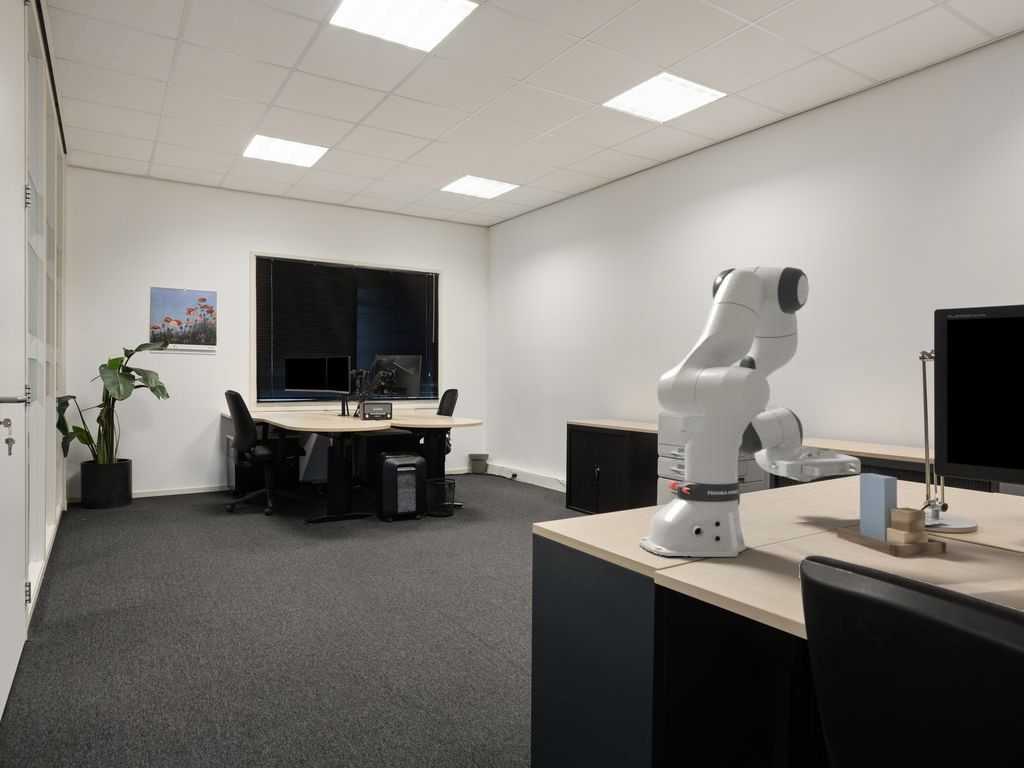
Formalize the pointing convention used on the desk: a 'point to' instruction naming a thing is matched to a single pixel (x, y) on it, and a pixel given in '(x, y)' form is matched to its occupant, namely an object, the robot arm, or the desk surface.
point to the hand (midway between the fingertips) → (839, 471)
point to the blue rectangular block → (877, 504)
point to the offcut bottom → (906, 537)
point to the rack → (893, 549)
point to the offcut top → (908, 520)
